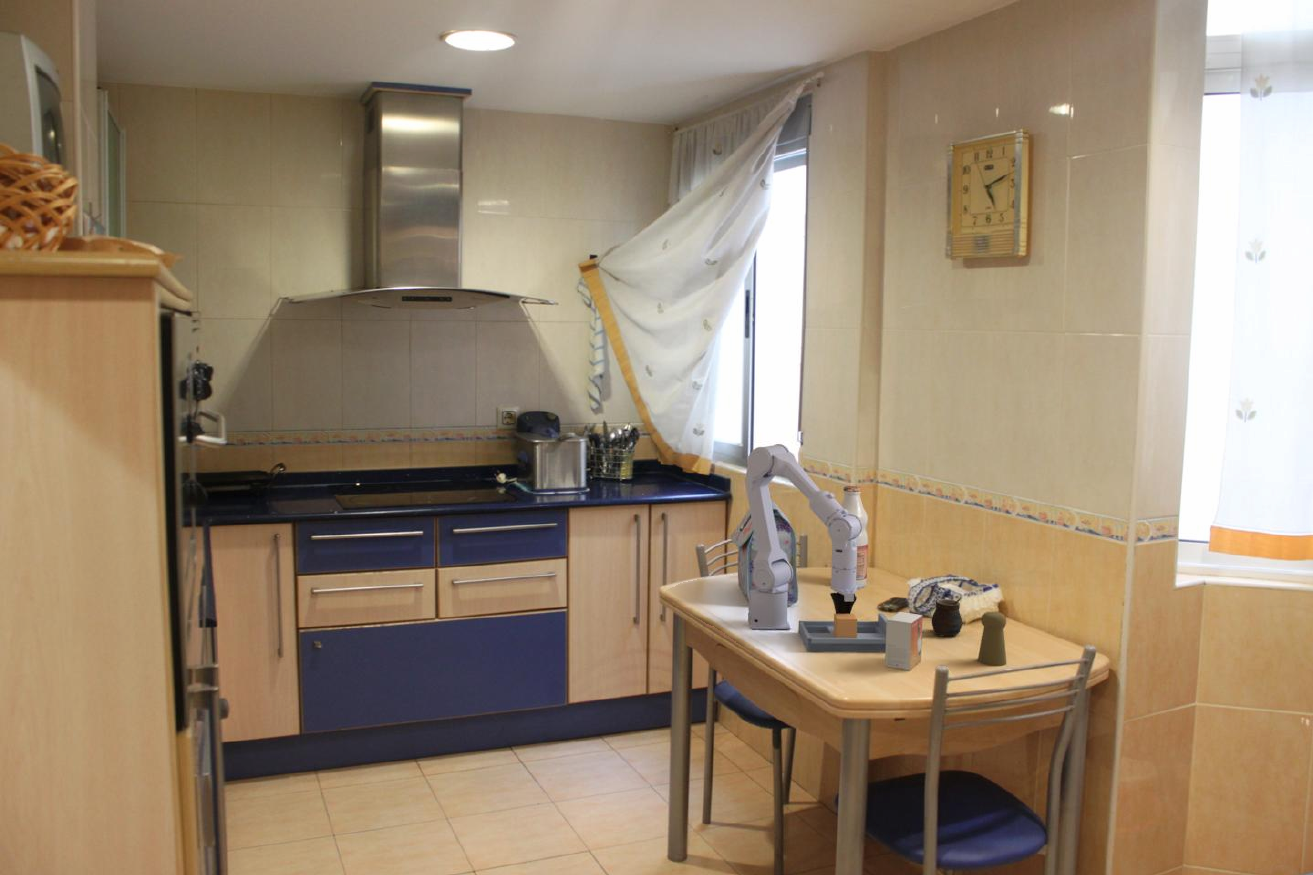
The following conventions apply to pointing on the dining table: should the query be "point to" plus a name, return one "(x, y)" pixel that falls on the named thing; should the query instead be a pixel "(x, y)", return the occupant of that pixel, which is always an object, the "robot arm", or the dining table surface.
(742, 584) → the lunch bag
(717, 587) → the dining table surface
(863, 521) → the fruit juice
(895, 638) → the small box
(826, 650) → the tray
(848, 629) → the block
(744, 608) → the dining table surface
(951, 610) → the mate gourd
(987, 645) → the olive green pepper mill
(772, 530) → the robot arm
